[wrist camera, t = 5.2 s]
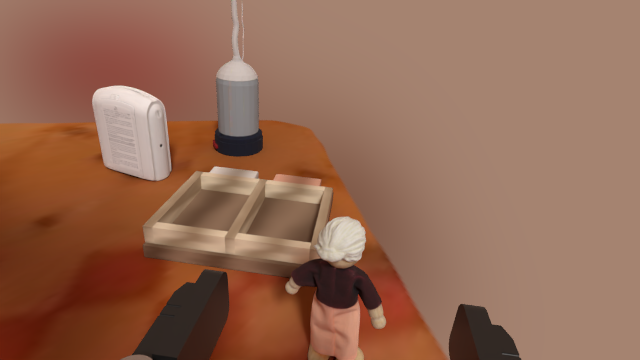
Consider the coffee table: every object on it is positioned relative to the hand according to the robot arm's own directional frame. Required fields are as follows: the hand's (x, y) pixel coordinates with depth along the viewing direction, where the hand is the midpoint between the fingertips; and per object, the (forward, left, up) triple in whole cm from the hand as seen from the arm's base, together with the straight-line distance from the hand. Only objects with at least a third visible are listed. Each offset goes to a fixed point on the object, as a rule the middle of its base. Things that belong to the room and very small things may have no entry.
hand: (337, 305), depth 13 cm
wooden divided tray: (-11, +27, -16) cm, 34 cm away
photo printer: (-31, +37, -17) cm, 51 cm away
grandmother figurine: (0, +11, -17) cm, 20 cm away
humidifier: (-20, +50, -17) cm, 57 cm away
